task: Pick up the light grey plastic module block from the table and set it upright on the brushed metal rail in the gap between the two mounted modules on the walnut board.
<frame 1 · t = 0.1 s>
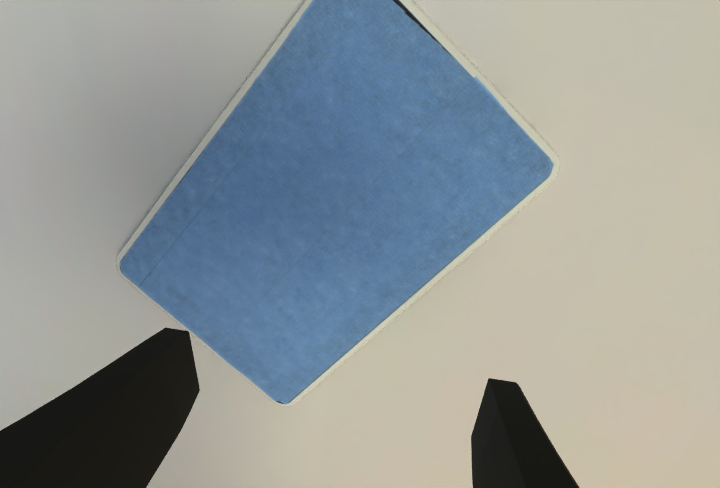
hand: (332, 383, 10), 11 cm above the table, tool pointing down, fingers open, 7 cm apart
tablet computer: (318, 215, 21), on the table
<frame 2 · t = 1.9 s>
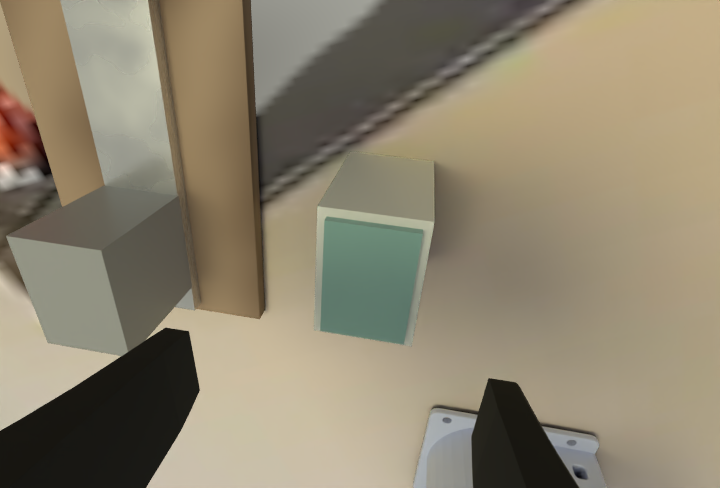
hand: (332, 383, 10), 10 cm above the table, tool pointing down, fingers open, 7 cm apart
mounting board: (144, 92, 18), on the table
mounted modules: (76, 110, 15), on the rail, point 4 cm above the table
rail: (128, 96, 17), on the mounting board, point 1 cm above the table
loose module: (385, 208, 19), on the table
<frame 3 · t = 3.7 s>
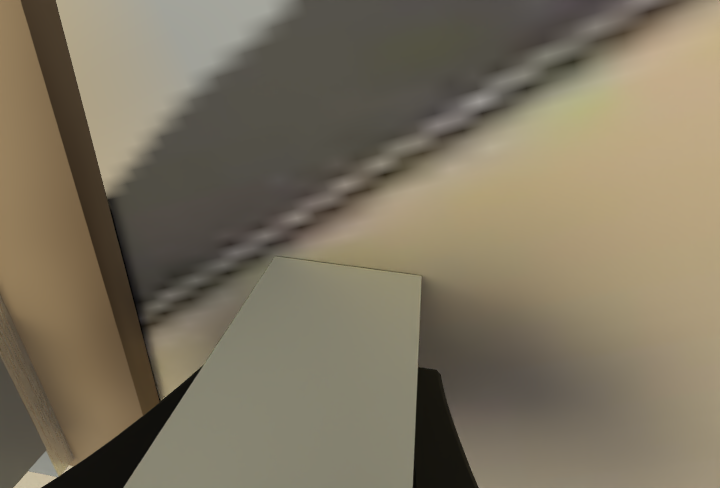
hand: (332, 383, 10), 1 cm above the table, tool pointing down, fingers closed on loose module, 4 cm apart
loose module: (342, 343, 11), on the table, touching gripper
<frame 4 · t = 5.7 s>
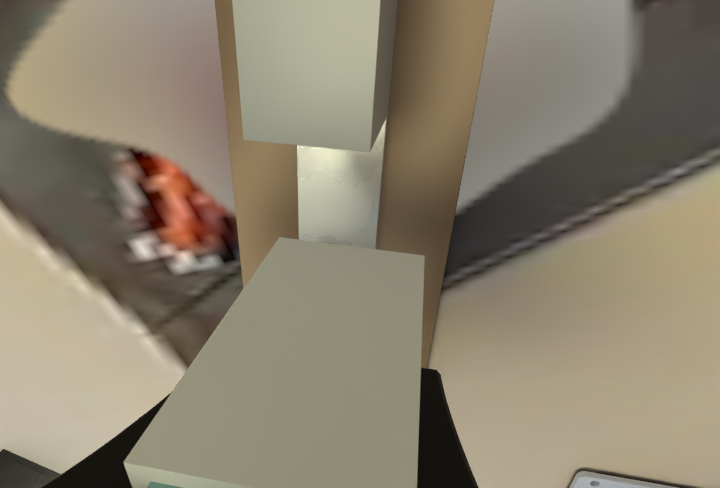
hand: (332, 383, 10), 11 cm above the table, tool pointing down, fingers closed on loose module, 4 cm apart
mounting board: (344, 193, 19), on the table
mounted modules: (324, 233, 16), on the rail, point 4 cm above the table
mini dv tape: (50, 470, 36), on the table
rail: (339, 203, 18), on the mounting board, point 1 cm above the table
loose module: (346, 325, 11), point 9 cm above the table, touching gripper
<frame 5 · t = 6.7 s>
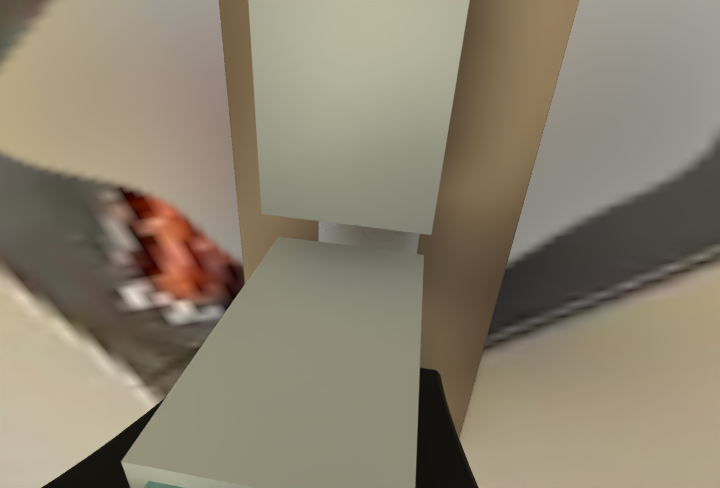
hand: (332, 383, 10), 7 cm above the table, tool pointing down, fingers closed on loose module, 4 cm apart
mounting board: (371, 243, 16), on the table
mounted modules: (354, 305, 13), on the rail, point 4 cm above the table
rail: (367, 258, 15), on the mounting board, point 1 cm above the table
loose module: (345, 325, 11), point 5 cm above the table, touching gripper
when the fingers open (4 cm above the table, at t = 7.8 s): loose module stays where it is, resting on rail.
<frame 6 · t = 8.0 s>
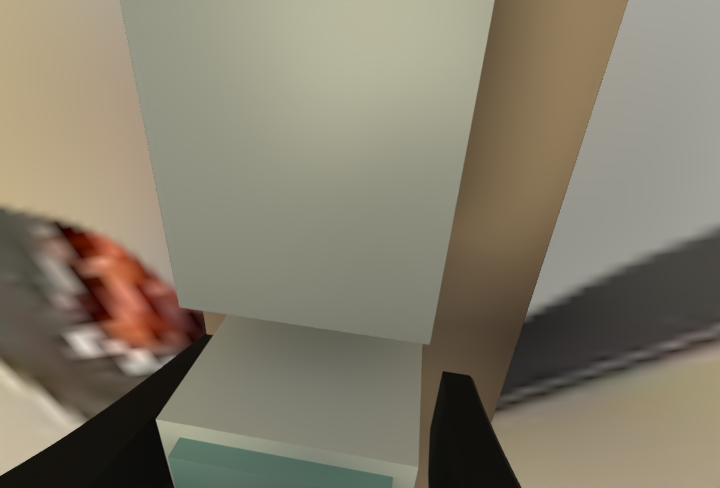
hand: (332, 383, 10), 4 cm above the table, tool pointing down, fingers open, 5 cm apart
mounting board: (357, 291, 13), on the table
mounted modules: (331, 387, 10), on the rail, point 4 cm above the table
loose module: (350, 311, 12), point 1 cm above the table, touching rail
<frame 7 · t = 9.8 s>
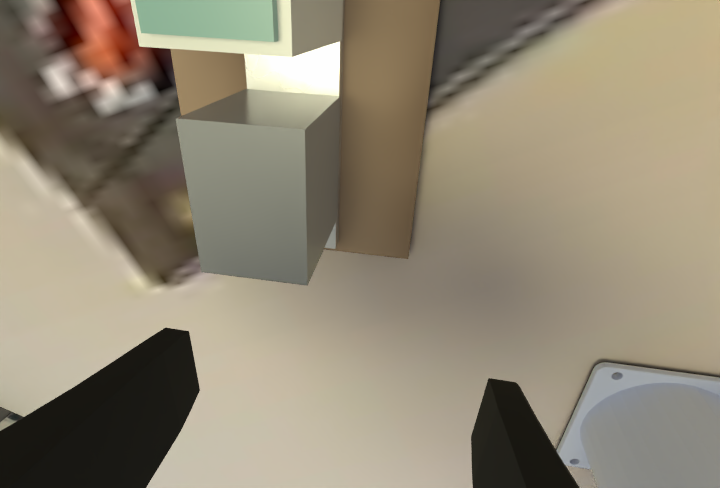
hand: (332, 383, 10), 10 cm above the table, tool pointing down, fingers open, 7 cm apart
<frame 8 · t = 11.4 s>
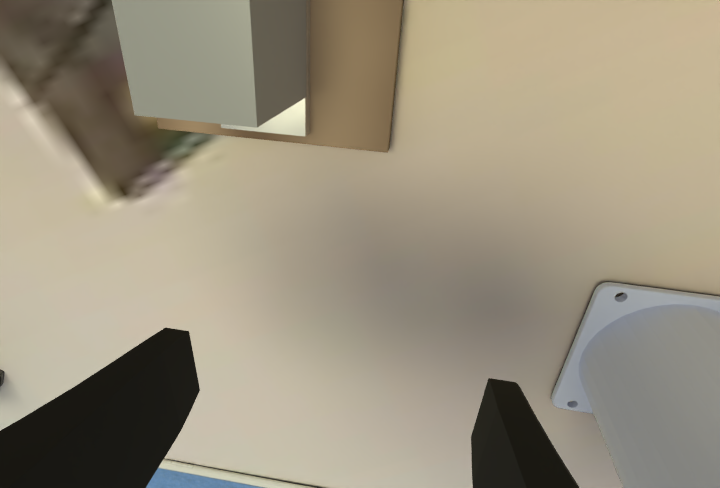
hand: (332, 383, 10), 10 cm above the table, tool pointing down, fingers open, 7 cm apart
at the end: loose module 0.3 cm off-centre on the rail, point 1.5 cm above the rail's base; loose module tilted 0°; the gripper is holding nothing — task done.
